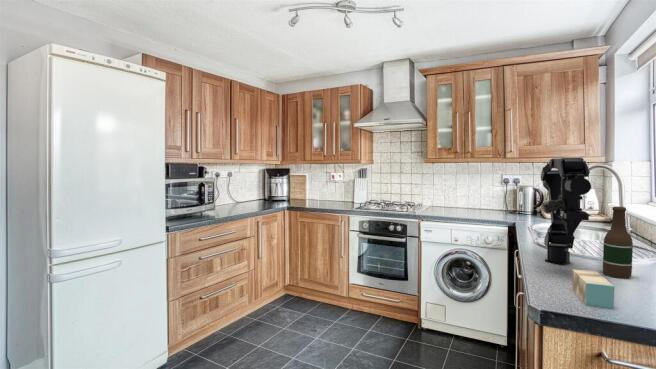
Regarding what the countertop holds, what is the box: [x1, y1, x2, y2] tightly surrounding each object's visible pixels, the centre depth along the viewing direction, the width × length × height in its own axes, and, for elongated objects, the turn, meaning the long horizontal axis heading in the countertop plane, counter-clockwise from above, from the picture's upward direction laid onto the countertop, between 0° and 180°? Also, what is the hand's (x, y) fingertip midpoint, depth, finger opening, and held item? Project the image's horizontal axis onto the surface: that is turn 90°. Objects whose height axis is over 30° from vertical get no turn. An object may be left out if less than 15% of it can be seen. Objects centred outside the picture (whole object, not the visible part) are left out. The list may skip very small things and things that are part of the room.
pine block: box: [571, 269, 615, 309], centre depth 96 cm, size 6×6×14 cm
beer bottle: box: [602, 206, 634, 280], centre depth 115 cm, size 8×8×24 cm
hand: (569, 236), depth 119 cm, fingers closed
